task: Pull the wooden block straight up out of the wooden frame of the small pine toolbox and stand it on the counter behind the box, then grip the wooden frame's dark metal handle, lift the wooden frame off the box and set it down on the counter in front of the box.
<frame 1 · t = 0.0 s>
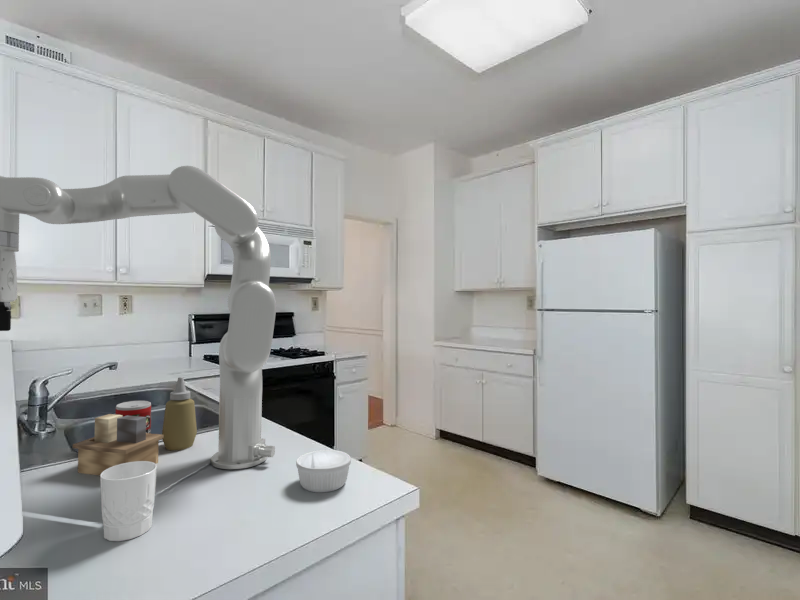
toolbox: (119, 470, 94), on the counter
wooden block: (108, 466, 95), point 1 cm above the counter, touching toolbox
squeeze bottle: (179, 449, 109), on the counter
white cup: (128, 531, 70), on the counter
wooden frame: (119, 442, 94), point 6 cm above the counter, touching toolbox
ramekin: (323, 484, 90), on the counter
canned food: (132, 447, 109), on the counter
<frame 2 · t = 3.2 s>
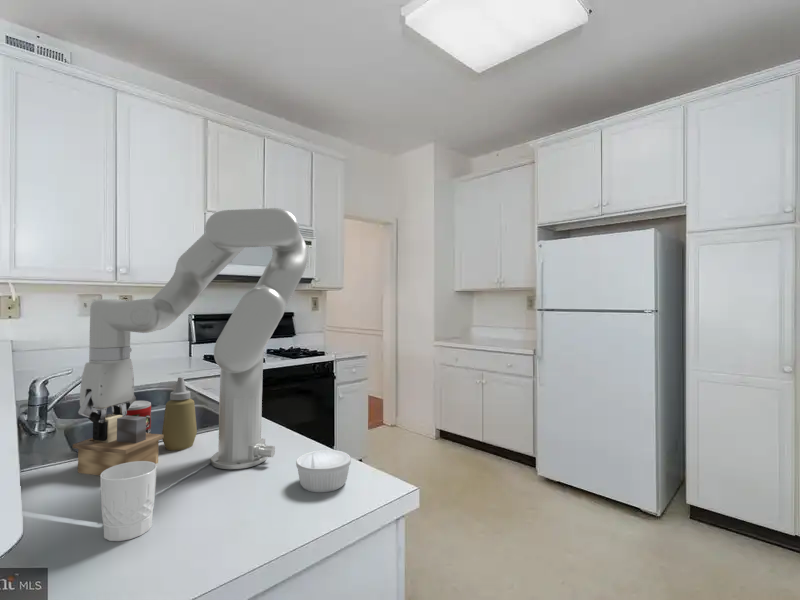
hand: (108, 436, 95), 7 cm above the counter, tool pointing down, fingers closed on wooden block, 3 cm apart
wooden block: (108, 465, 95), point 1 cm above the counter, touching gripper, toolbox
everything else where it was.
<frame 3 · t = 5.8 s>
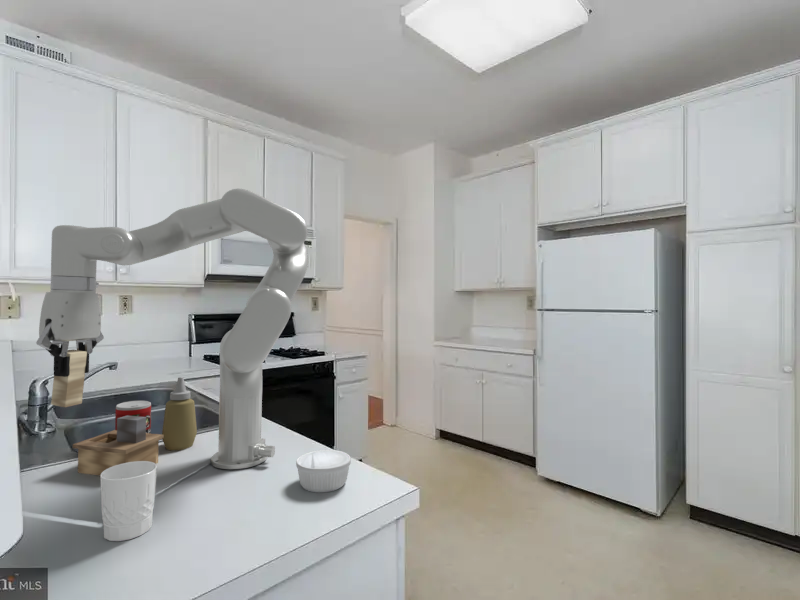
hand: (71, 373, 89), 22 cm above the counter, tool pointing down, fingers closed on wooden block, 3 cm apart
wooden block: (66, 403, 89), point 16 cm above the counter, tilted 6°, touching gripper
everything else where it was.
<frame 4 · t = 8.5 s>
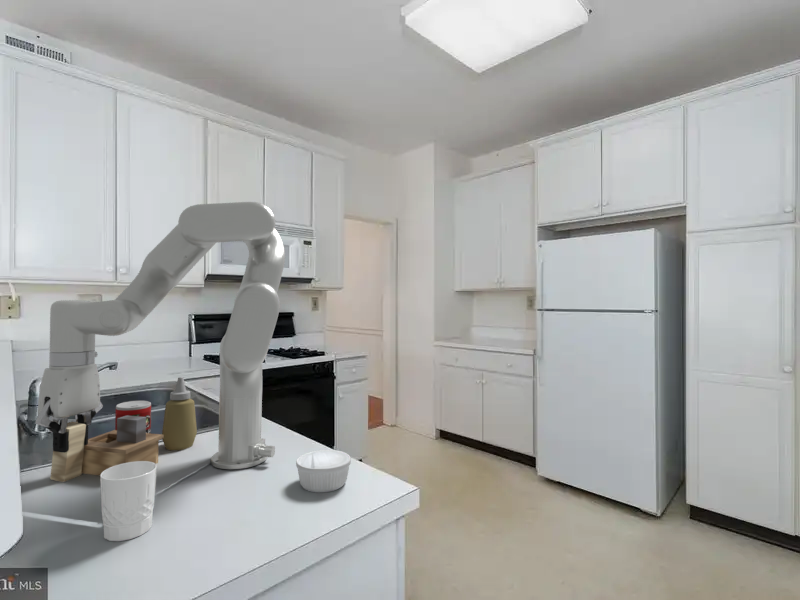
hand: (70, 447, 89), 7 cm above the counter, tool pointing down, fingers closed on wooden block, 3 cm apart
wooden block: (65, 477, 89), point 1 cm above the counter, tilted 5°, touching gripper, wooden frame
wooden frame: (119, 442, 94), point 6 cm above the counter, touching gripper, wooden block, toolbox
everything else where it was.
when the fingers open (7 cm above the counter, at t = 8.7 s): wooden block stays where it is, on the counter.
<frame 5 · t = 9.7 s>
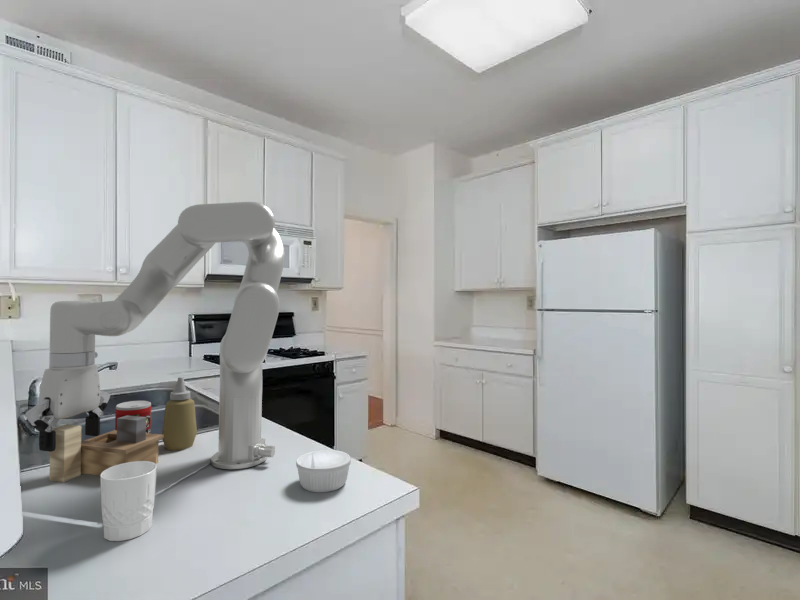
hand: (71, 442, 89), 8 cm above the counter, tool pointing down, fingers open, 9 cm apart
wooden block: (65, 480, 89), on the counter
wooden frame: (119, 442, 94), point 6 cm above the counter, touching toolbox
everything else where it was.
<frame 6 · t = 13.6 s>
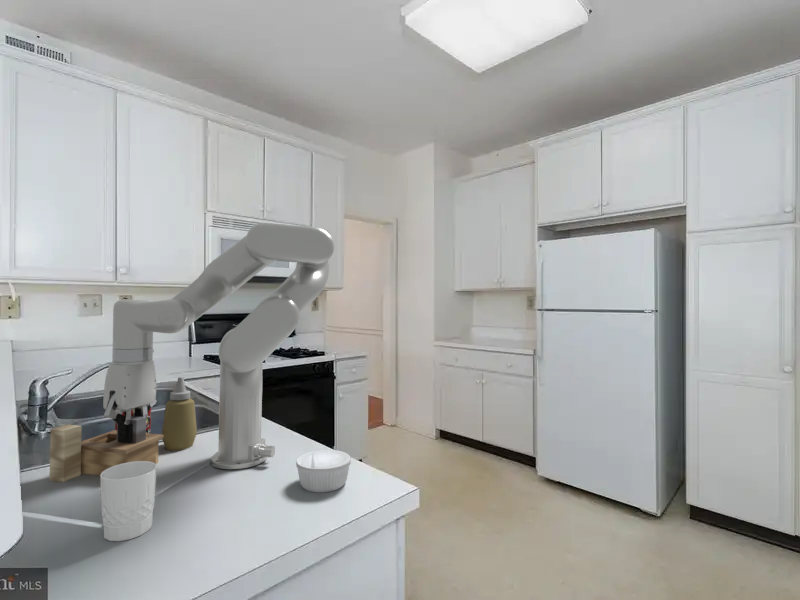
hand: (131, 438, 94), 7 cm above the counter, tool pointing down, fingers closed on wooden frame, 2 cm apart
wooden frame: (119, 442, 94), point 6 cm above the counter, touching gripper, toolbox
everything else where it was.
when the fingers open (2 cm above the counter, at t = 20.1 s): wooden frame drops 1 cm, on the counter.
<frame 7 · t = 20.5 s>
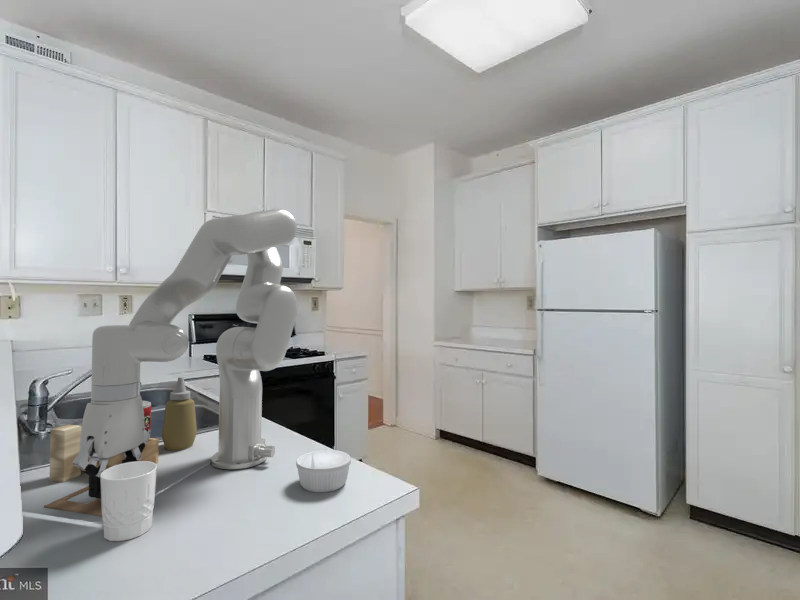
hand: (114, 487, 79), 3 cm above the counter, tool pointing down, fingers open, 6 cm apart
wooden frame: (101, 501, 80), on the counter
everything else where it was.
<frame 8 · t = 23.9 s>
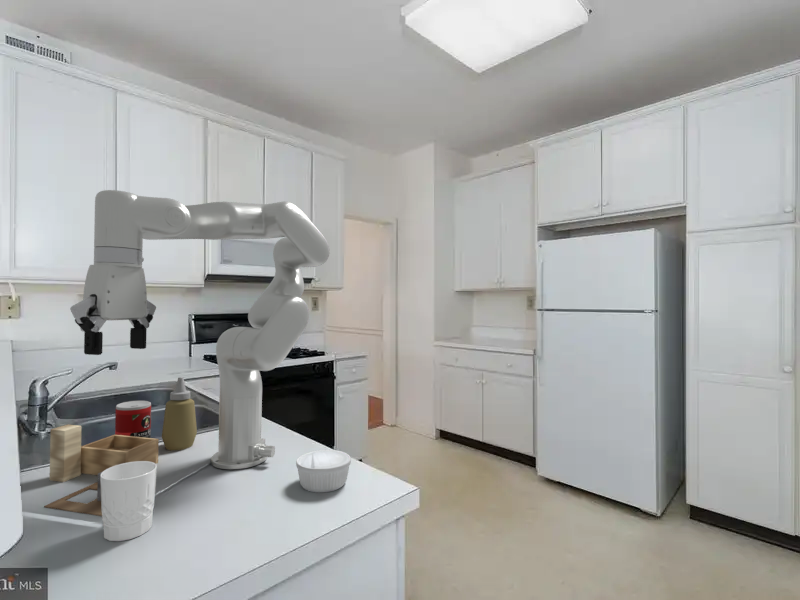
hand: (116, 351, 79), 28 cm above the counter, tool pointing down, fingers open, 9 cm apart
nothing on the counter moved.
at the end: wooden frame inside the target area (0.1 cm from its centre), on the counter; wooden block inside the target area (1.2 cm from its centre), on the counter; the gripper is holding nothing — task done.
